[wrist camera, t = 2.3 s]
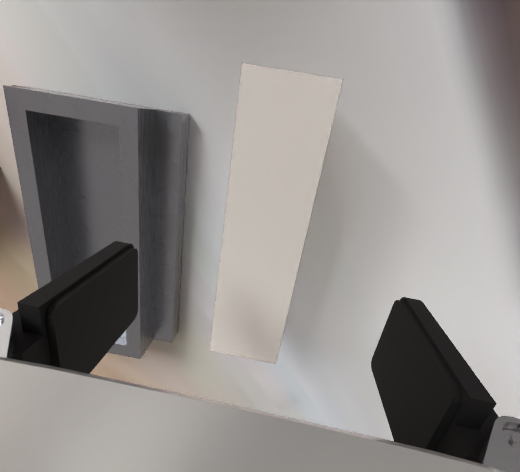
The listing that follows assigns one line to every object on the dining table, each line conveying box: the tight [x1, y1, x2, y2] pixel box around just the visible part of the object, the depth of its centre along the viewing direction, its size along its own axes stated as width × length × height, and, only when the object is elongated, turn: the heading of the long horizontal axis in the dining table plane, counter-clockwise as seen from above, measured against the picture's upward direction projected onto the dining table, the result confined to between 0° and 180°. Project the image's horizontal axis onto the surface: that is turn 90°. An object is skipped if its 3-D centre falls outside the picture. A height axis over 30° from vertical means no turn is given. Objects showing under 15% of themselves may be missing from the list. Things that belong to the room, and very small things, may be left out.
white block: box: [210, 63, 343, 364], centre depth 18 cm, size 15×4×9 cm, turn 171°
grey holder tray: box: [3, 85, 189, 359], centre depth 23 cm, size 20×12×4 cm, turn 171°
